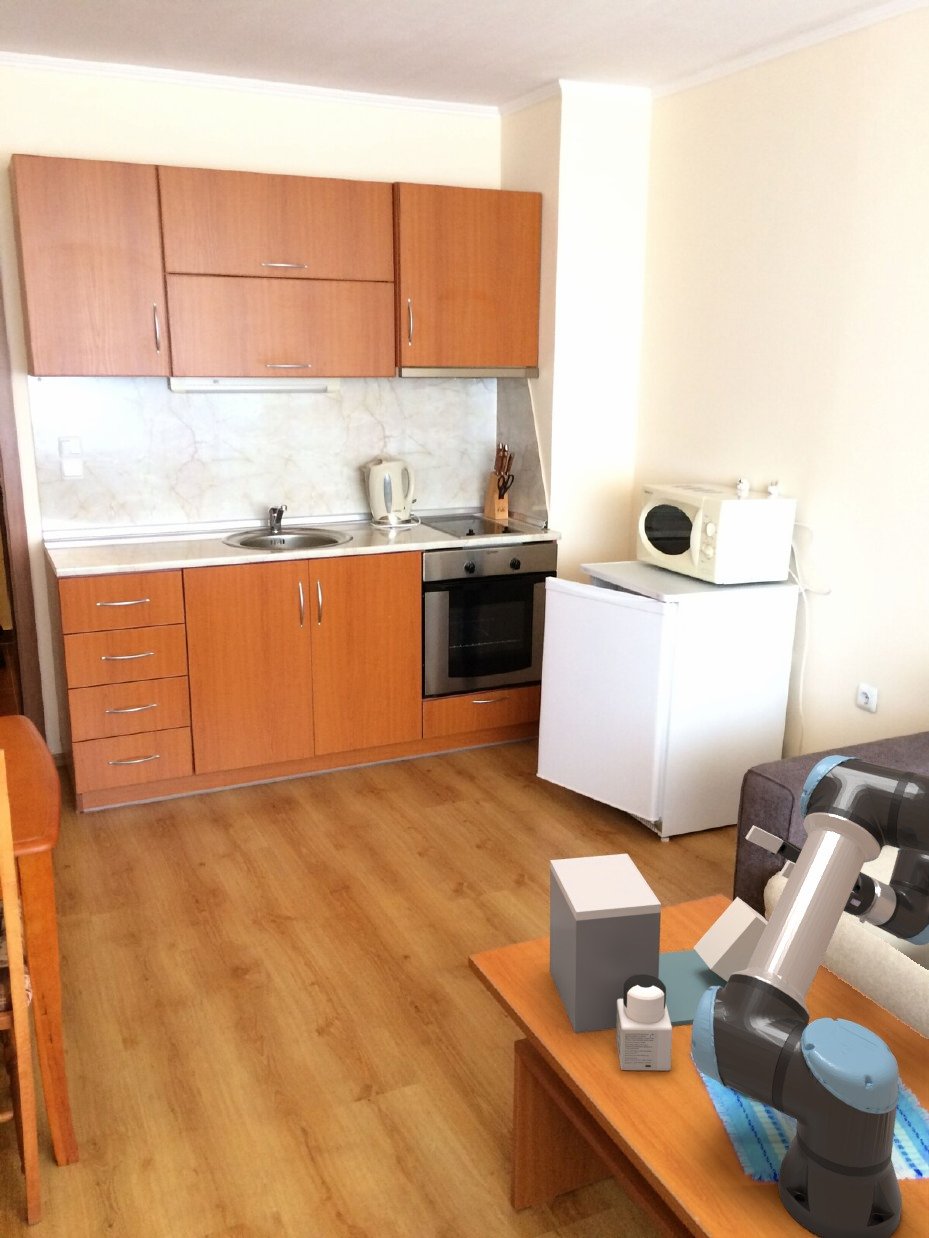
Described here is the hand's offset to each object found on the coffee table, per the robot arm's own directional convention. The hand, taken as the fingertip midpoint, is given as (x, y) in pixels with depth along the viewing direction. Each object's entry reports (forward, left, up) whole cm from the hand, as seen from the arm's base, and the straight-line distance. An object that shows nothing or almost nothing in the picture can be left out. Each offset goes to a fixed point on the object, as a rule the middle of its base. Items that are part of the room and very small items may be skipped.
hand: (766, 849), depth 178 cm
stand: (-15, +25, -25) cm, 38 cm away
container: (-28, +15, -25) cm, 40 cm away
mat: (-5, +9, -25) cm, 27 cm away
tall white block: (-2, +4, -26) cm, 26 cm away
